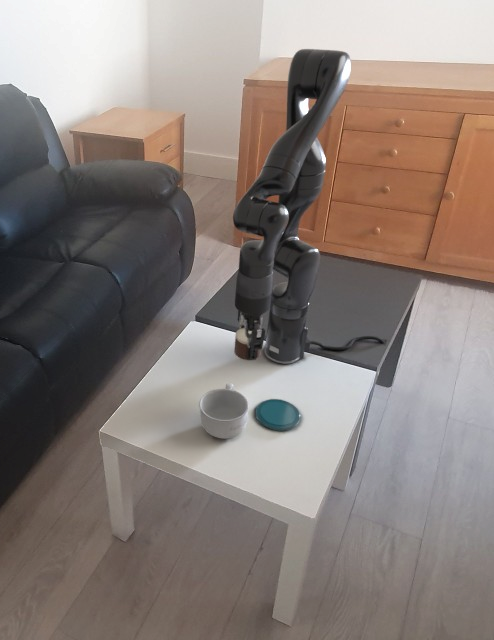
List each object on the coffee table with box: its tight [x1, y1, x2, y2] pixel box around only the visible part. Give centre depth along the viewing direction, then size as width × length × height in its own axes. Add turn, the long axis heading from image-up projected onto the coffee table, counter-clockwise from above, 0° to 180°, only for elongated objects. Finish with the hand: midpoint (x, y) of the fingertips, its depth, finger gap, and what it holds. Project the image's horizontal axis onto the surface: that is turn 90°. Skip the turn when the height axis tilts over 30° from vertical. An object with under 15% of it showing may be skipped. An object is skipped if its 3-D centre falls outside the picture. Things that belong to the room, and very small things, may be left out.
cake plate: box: [255, 398, 301, 432], centre depth 140 cm, size 10×10×1 cm
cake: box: [233, 328, 262, 361], centre depth 135 cm, size 6×6×5 cm
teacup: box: [198, 382, 249, 439], centre depth 136 cm, size 14×11×8 cm
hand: (247, 350), depth 136 cm, fingers closed on cake, 6 cm apart
